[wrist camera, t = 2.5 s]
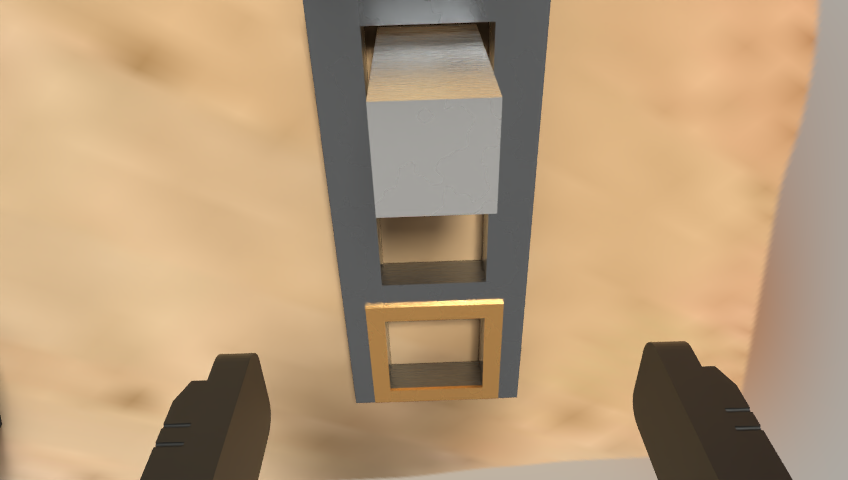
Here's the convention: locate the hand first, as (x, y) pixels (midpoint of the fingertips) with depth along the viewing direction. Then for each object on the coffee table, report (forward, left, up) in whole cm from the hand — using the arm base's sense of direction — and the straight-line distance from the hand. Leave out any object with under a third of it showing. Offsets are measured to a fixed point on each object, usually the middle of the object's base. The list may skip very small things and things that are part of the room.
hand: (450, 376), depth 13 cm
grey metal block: (0, 0, -19) cm, 19 cm away
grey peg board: (+8, 0, -19) cm, 20 cm away
